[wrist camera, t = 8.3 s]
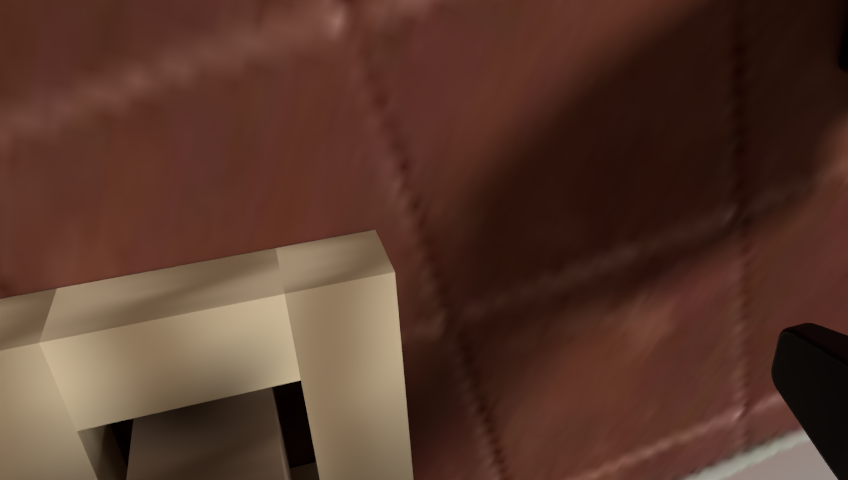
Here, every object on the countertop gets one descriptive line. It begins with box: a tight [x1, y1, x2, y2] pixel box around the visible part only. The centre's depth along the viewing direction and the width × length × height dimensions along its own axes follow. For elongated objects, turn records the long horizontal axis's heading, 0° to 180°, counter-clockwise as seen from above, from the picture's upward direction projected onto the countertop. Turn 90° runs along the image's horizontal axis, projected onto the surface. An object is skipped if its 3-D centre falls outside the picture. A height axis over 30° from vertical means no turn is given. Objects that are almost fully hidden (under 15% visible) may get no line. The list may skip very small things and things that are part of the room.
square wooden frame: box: [0, 230, 413, 480], centre depth 21 cm, size 12×12×2 cm
